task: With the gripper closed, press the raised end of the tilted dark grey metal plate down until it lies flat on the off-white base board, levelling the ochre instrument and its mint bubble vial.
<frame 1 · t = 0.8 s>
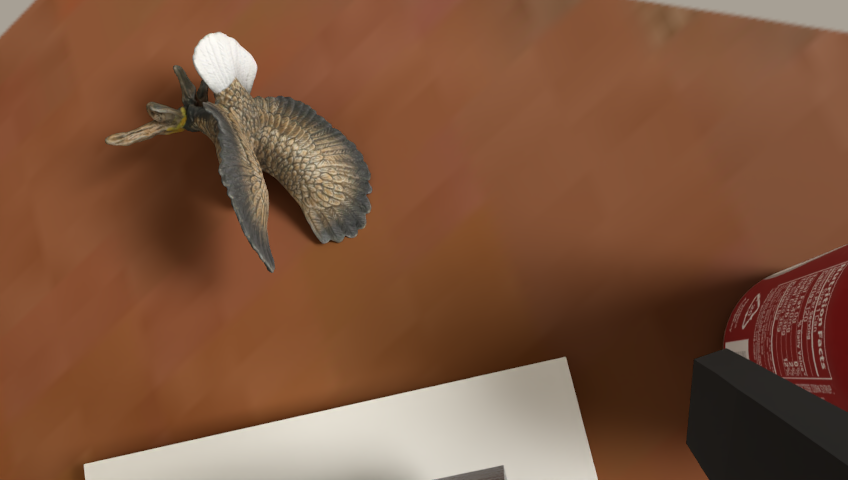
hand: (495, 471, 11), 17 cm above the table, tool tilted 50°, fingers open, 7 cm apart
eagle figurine: (277, 177, 31), on the table
soda can: (808, 357, 26), on the table
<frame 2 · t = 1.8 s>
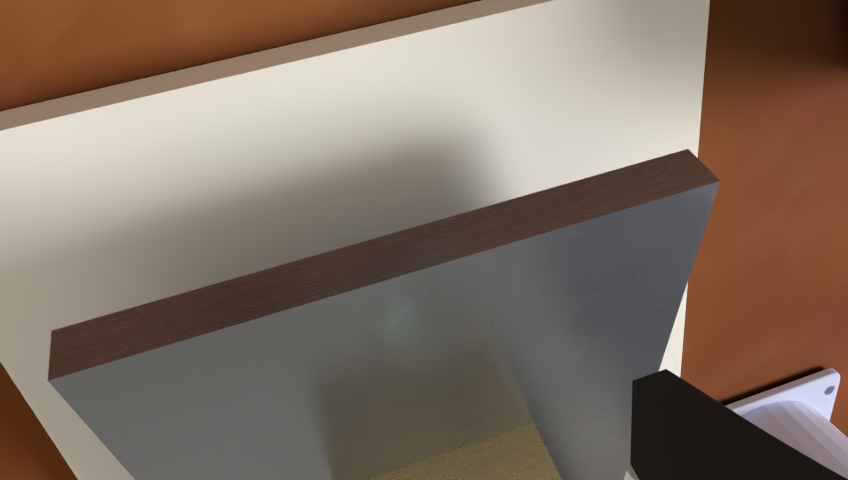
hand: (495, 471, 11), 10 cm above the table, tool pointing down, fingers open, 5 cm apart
base board: (392, 337, 22), on the table
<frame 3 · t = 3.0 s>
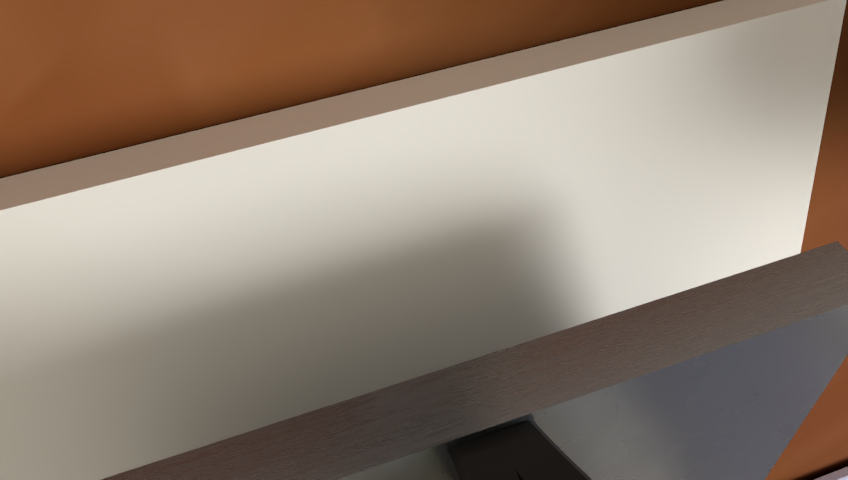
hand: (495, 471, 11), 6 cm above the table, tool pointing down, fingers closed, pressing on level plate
base board: (432, 431, 19), on the table
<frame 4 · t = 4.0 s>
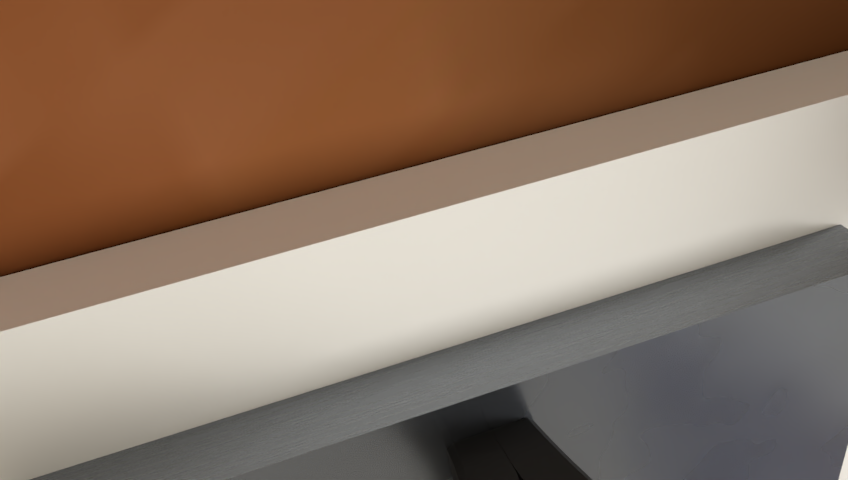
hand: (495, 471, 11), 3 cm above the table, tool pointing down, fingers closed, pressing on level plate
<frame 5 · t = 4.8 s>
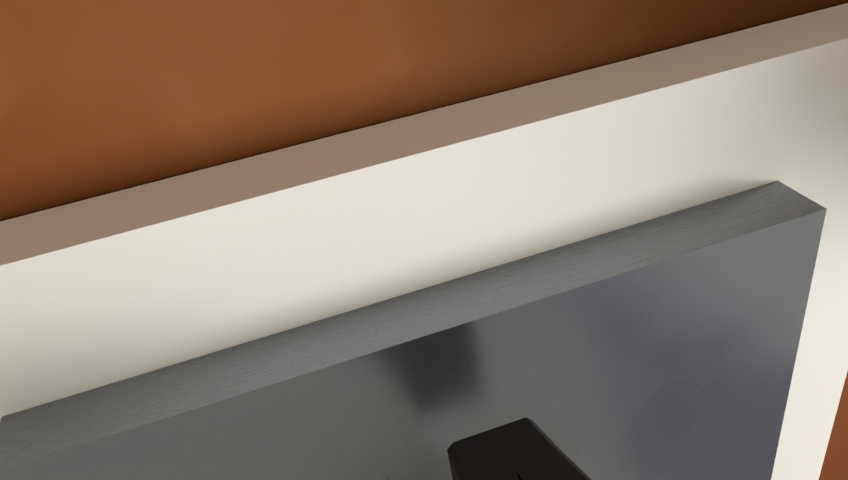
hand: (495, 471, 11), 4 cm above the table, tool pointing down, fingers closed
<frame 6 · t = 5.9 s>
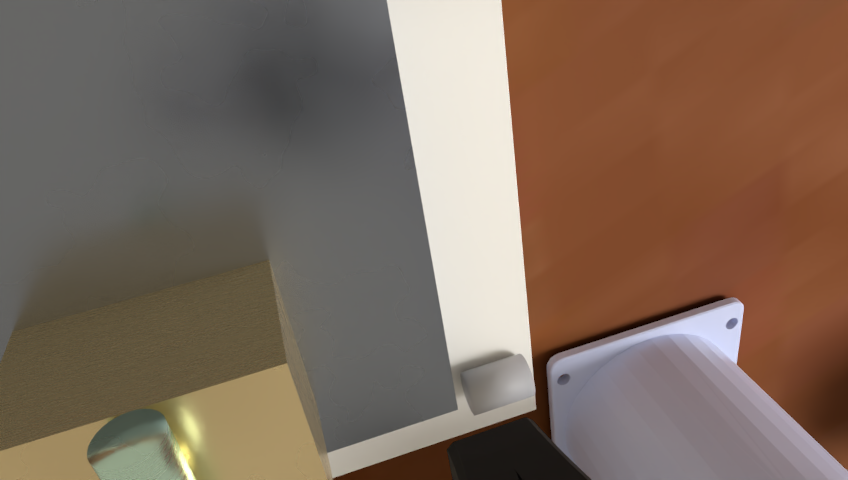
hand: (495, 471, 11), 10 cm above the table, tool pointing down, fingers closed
base board: (144, 224, 18), on the table
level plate: (129, 331, 14), point 5 cm above the table, hinge at -0.1°, touching base board
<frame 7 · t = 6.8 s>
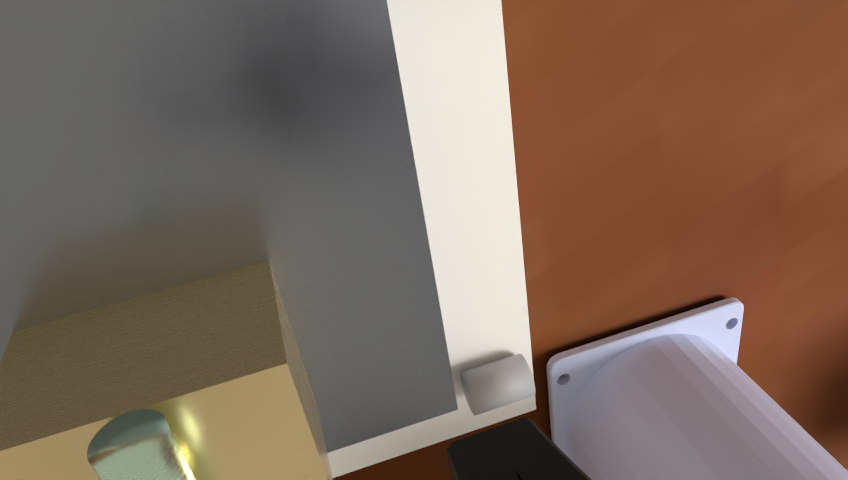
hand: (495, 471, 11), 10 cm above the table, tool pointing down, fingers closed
base board: (144, 224, 18), on the table
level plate: (129, 331, 14), point 5 cm above the table, hinge at -0.1°, touching base board
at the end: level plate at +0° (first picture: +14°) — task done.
